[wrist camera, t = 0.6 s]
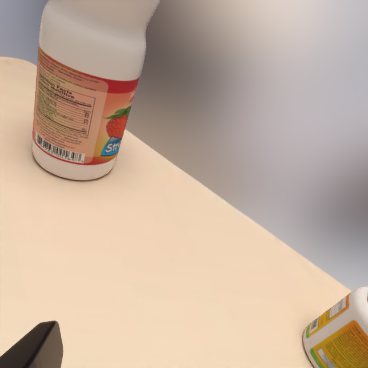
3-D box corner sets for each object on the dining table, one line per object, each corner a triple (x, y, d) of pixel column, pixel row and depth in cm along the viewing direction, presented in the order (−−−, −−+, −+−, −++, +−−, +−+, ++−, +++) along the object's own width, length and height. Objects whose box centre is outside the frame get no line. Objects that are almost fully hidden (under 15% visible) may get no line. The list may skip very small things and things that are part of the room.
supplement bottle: (365, 396, 24) (473, 349, 18) (311, 381, 23) (406, 327, 17) (341, 332, 28) (422, 279, 23) (295, 318, 27) (367, 259, 22)
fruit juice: (33, 130, 35) (58, -218, 19) (109, 141, 39) (178, -133, 24) (28, 179, 28) (59, -286, 13) (119, 185, 33) (225, -152, 17)
